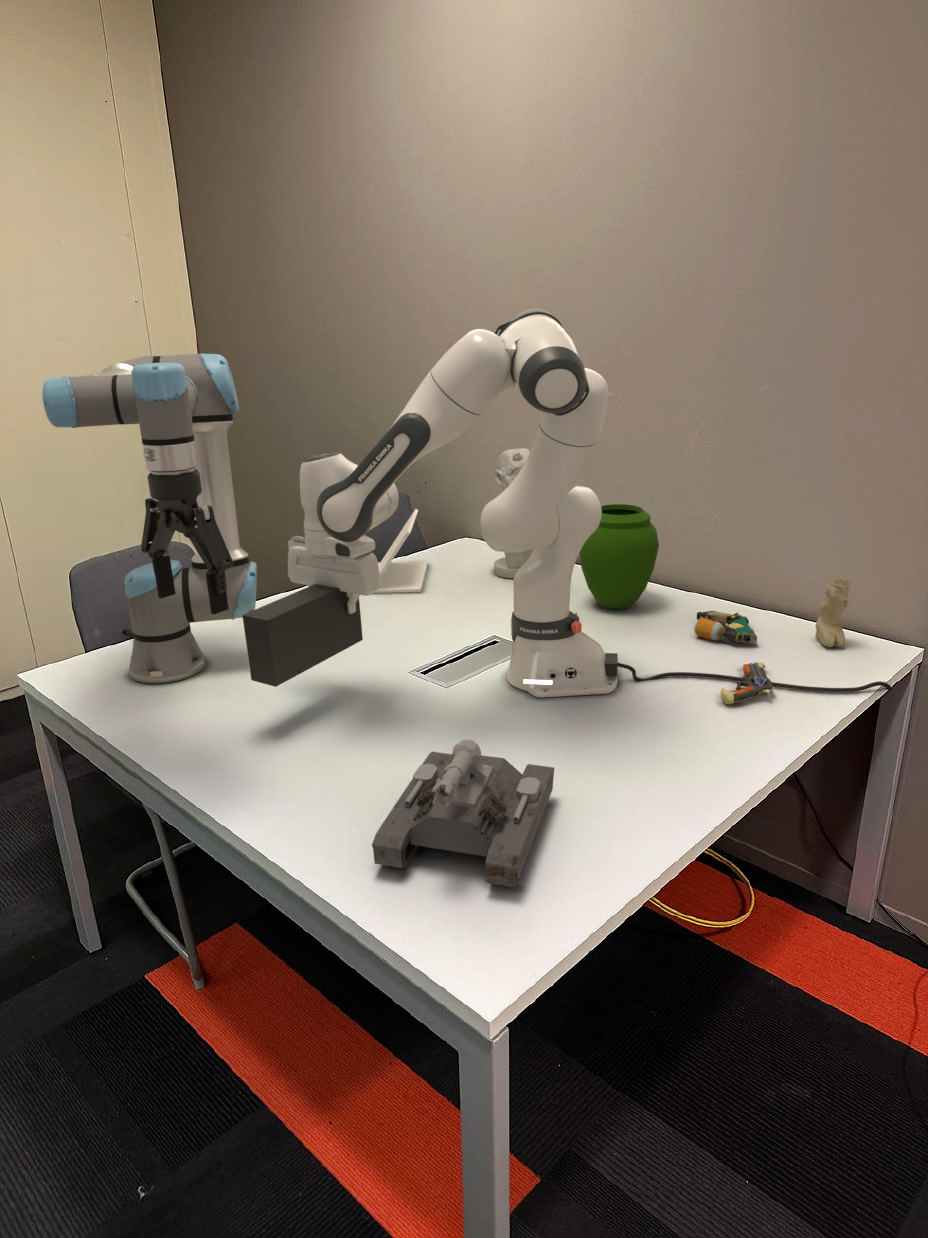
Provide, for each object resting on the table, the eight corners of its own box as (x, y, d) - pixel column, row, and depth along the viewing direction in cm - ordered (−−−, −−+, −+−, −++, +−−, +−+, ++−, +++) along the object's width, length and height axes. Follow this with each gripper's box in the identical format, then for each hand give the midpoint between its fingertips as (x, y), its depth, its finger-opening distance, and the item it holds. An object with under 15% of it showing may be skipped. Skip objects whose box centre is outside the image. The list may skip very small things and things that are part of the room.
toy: (433, 778, 139) (429, 695, 134) (554, 794, 134) (555, 708, 128) (373, 873, 117) (366, 778, 111) (516, 898, 111) (515, 799, 106)
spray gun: (698, 619, 205) (763, 629, 199) (684, 639, 191) (754, 651, 185) (700, 602, 204) (766, 612, 198) (686, 621, 189) (757, 632, 183)
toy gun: (723, 694, 159) (779, 691, 157) (713, 661, 177) (764, 657, 175) (723, 708, 160) (779, 705, 158) (714, 673, 178) (764, 670, 176)
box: (339, 634, 172) (333, 575, 167) (362, 639, 169) (357, 579, 164) (251, 680, 152) (242, 615, 148) (275, 687, 149) (267, 620, 145)
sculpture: (821, 649, 184) (830, 583, 179) (808, 637, 191) (816, 573, 185) (848, 649, 184) (858, 582, 179) (834, 636, 191) (843, 572, 185)
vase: (599, 587, 227) (601, 497, 218) (668, 600, 216) (673, 505, 208) (562, 608, 212) (564, 513, 204) (634, 623, 202) (639, 523, 193)
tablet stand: (427, 564, 251) (425, 507, 245) (421, 592, 228) (418, 530, 222) (366, 565, 252) (362, 509, 246) (354, 593, 228) (349, 531, 222)
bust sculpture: (503, 593, 225) (502, 460, 212) (483, 567, 247) (480, 445, 234) (562, 587, 228) (563, 456, 215) (536, 562, 250) (536, 441, 237)
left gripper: (103, 467, 132) (126, 596, 140) (204, 483, 118) (223, 626, 126) (146, 459, 138) (166, 583, 146) (246, 473, 124) (263, 611, 131)
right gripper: (276, 538, 163) (284, 606, 167) (360, 550, 152) (366, 623, 157) (298, 530, 168) (306, 597, 172) (382, 542, 157) (387, 612, 162)
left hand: (192, 603), depth 136 cm, fingers open, 13 cm apart
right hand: (335, 609), depth 165 cm, fingers closed on box, 6 cm apart
